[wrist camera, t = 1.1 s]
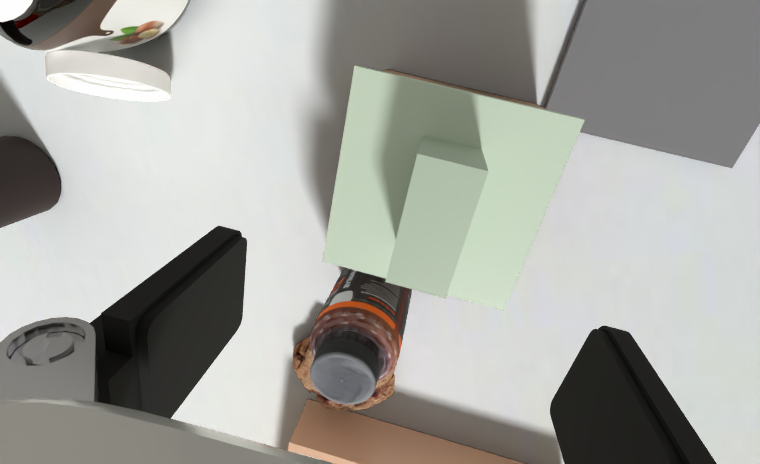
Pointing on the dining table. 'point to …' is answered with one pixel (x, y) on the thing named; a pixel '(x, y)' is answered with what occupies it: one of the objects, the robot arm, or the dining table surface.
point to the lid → (443, 185)
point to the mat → (665, 75)
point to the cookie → (302, 368)
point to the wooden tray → (375, 441)
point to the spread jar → (94, 42)
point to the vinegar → (25, 181)
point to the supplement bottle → (357, 336)
